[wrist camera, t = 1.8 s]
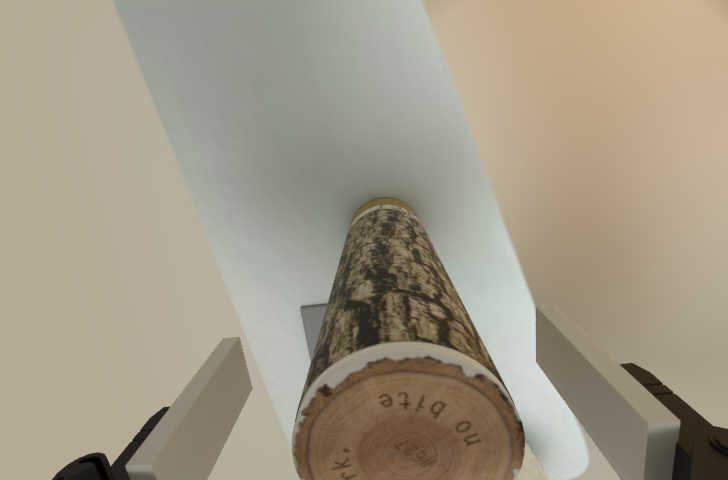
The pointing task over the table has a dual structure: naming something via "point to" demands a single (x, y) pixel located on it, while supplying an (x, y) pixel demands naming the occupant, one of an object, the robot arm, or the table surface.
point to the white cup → (531, 467)
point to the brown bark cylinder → (401, 369)
